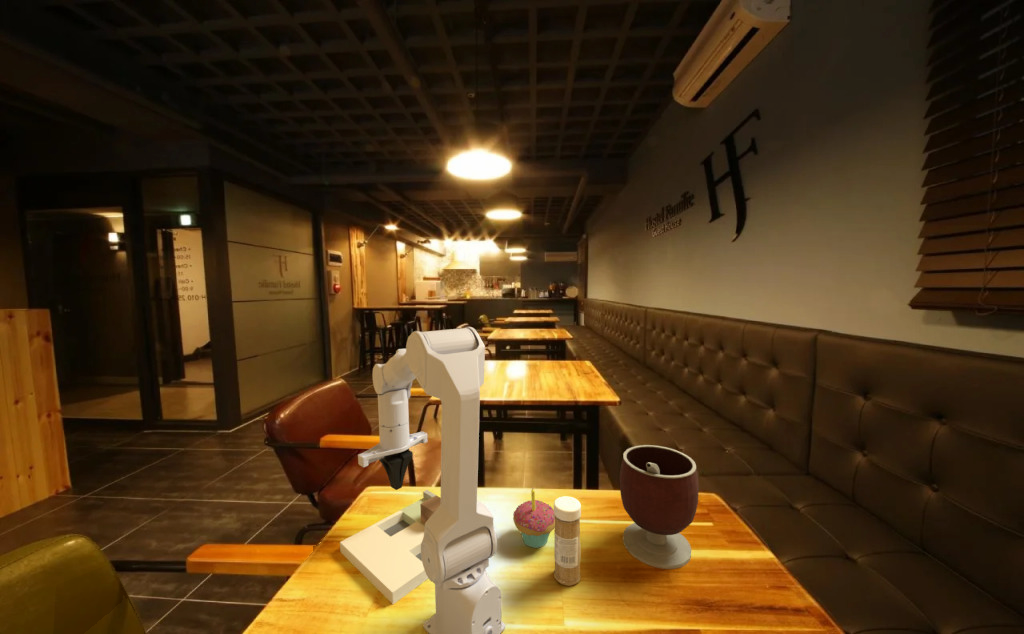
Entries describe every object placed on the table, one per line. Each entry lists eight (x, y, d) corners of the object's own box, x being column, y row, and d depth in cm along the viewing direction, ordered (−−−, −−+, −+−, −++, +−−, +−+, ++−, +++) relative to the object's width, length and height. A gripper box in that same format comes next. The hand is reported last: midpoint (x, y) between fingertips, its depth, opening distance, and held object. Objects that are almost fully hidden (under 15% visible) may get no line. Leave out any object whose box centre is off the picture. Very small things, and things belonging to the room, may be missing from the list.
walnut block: (449, 520, 77) (448, 502, 77) (433, 530, 74) (432, 511, 74) (436, 513, 80) (436, 495, 79) (421, 522, 76) (420, 503, 76)
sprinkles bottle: (582, 571, 66) (583, 498, 65) (576, 590, 62) (577, 513, 60) (557, 563, 68) (558, 492, 66) (550, 582, 64) (550, 506, 62)
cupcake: (554, 557, 69) (554, 495, 68) (509, 551, 71) (508, 491, 70) (557, 528, 78) (558, 472, 76) (517, 523, 79) (517, 468, 78)
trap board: (482, 538, 74) (482, 521, 74) (393, 604, 59) (392, 583, 59) (427, 504, 86) (426, 489, 86) (340, 552, 71) (339, 534, 71)
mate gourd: (629, 514, 82) (631, 425, 80) (700, 537, 74) (704, 439, 73) (606, 558, 69) (608, 453, 67) (689, 591, 61) (693, 474, 60)
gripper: (413, 408, 83) (415, 467, 84) (348, 428, 72) (352, 495, 73) (432, 415, 78) (434, 477, 80) (367, 437, 67) (370, 509, 69)
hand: (396, 487), depth 76 cm, fingers closed
